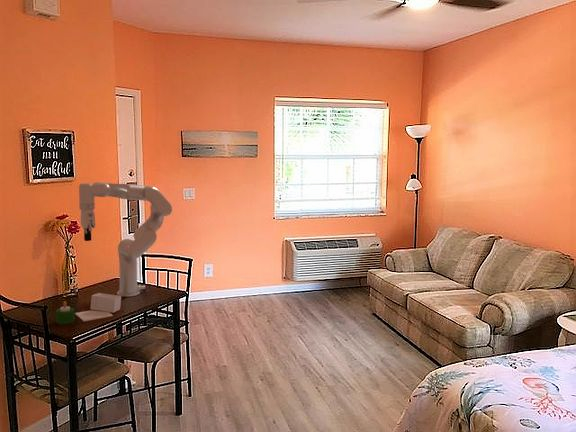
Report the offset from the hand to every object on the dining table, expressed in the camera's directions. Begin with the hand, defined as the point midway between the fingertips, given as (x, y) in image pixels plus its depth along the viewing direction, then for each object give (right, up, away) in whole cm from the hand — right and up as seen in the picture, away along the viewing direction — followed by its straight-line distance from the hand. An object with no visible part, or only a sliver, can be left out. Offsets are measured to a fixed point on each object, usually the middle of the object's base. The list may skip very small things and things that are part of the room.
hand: (87, 240), depth 268 cm
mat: (+11, -36, -19) cm, 42 cm away
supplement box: (+8, -30, -11) cm, 33 cm away
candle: (+1, -38, -29) cm, 47 cm away
